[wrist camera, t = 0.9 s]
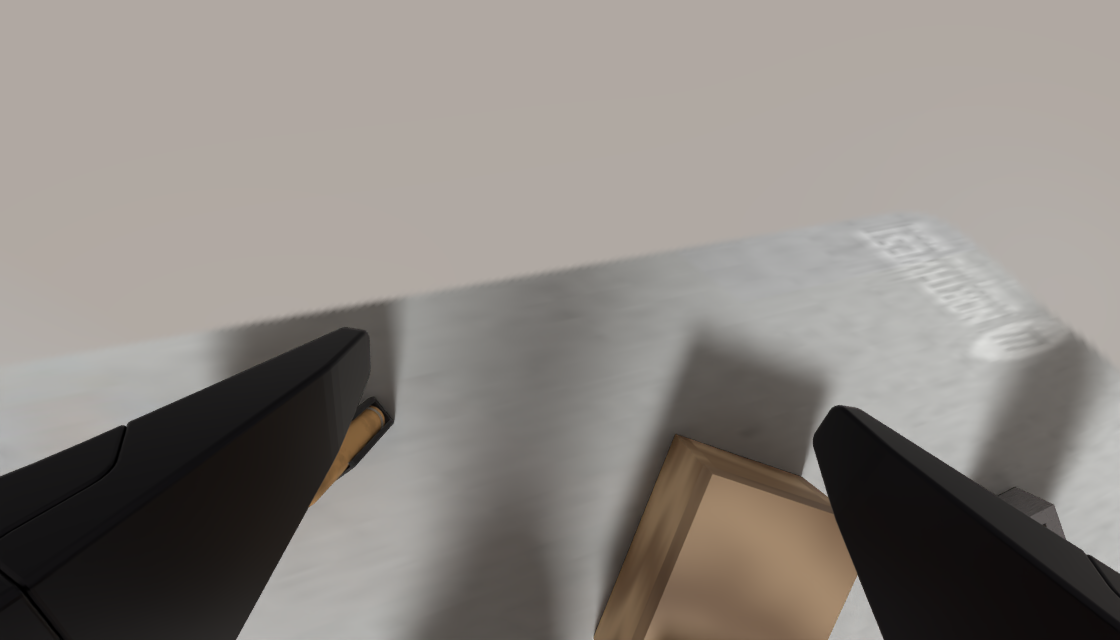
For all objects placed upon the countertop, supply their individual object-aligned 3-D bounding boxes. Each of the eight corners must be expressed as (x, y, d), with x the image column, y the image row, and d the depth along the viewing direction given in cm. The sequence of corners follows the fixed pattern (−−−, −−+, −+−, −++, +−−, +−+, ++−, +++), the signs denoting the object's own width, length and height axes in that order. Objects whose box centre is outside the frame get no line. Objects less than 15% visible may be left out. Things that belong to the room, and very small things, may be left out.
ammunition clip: (373, 394, 24) (217, 523, 12) (395, 422, 24) (264, 574, 12) (211, 511, 24) (-103, 754, 12) (235, 537, 24) (-50, 800, 12)
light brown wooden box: (717, 672, 27) (752, 748, 23) (593, 637, 26) (606, 709, 22) (801, 476, 26) (855, 518, 22) (675, 433, 25) (705, 468, 21)
